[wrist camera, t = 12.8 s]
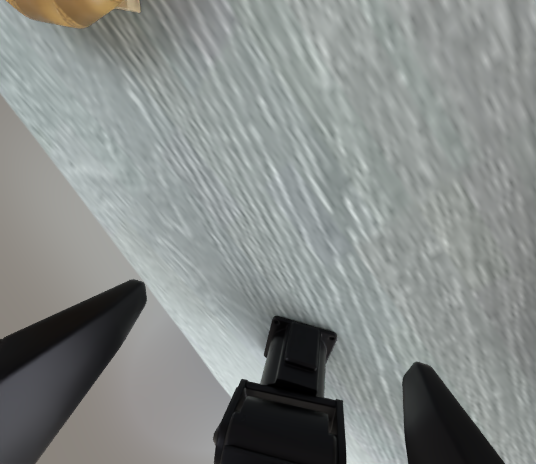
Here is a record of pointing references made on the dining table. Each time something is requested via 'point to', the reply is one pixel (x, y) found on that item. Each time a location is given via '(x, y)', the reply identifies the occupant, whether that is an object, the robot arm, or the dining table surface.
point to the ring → (65, 11)
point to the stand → (130, 6)
